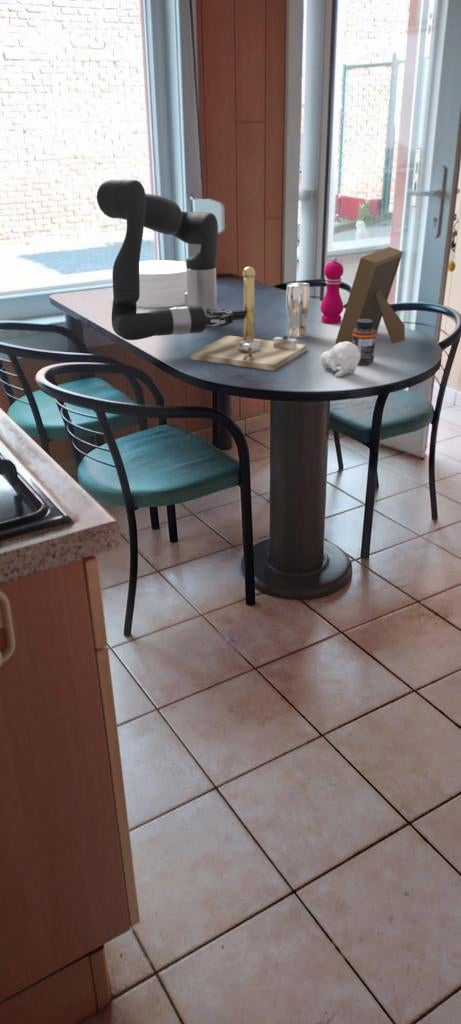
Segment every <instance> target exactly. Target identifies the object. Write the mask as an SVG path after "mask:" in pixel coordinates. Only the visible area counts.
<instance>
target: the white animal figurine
mask: <svg viewBox="0 0 461 1024" xmlns="http://www.w3.org/2000/svg"><path fill="white" fill-rule="evenodd" d="M360 356H361V354H360V352H359V350H358V347H357V346H356V345H355V344H353V343H351V342H348V341H345V342H339V343H338V344H335V345H333V347H331V349H330V350H326V351H324V352H323V353H321V355H320V357H319V358H320V359H319V360H320V365H321V366H322V367H323V369H330V368H331V370H332V371H334V372H335V371H337V367H341V370H338V371H337V372H336V373H334V377H336V378H340V377H343V376H344V375H346V374H347V372H348V374H349V375H353V374H355V371H356V370H357V366H359V365H358V363H359V359H360Z"/></svg>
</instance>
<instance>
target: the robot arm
mask: <svg viewBox="0 0 461 1024" xmlns="http://www.w3.org/2000/svg"><path fill="white" fill-rule="evenodd" d="M97 189H98V190H97V192H96V202H97V204H98V207H99V209H100V210H101V212H102V213H103V214H104V215H105V216H106V217H108V218H110V219H118V220H119V219H120V220H125V221H126V232H125V237H124V240H123V243H122V245H121V247H120V249H119V251H118V253H117V255H116V257H115V261H114V263H113V266H112V294H113V295H112V296H113V298H112V299H113V300H112V305H111V306H112V308H111V326H112V329H113V331H114V333H115V334H116V335H117V336H119V337H121V338H122V340H123V339H124V340H126V341H138V340H144V339H149V338H152V337H157V336H159V337H160V336H161V337H162V336H168V335H170V336H171V335H175V336H176V335H189V334H201V333H203V332H204V331H205V329H206V327H215V326H217V325H218V326H219V327H220V328H223V327H225V326H228V325H230V324H233V323H234V321H238V320H244V318H245V312H244V310H242V309H241V310H229V309H226V308H218V305H217V304H218V303H217V258H218V240H219V238H218V237H219V225H218V219H217V217H216V215H215V213H212V212H203V211H182V209H181V207H180V206H179V204H178V203H176V202H175V201H174V200H172V199H169V198H167V197H164V196H163V195H158V194H152V193H146V190H145V188H144V185H143V184H142V183H141V182H140V181H139V180H137V179H128V178H127V179H126V178H125V179H116V178H115V179H109V180H105V181H103V182H102V183H101V184H100V185H99V187H98V188H97ZM144 228H146V229H150V230H152V231H154V232H156V233H160V234H164V235H167V236H170V235H171V236H173V237H175V238H177V239H178V240H180V241H182V242H183V243H186V244H189V245H197V246H198V245H200V251H199V252H198V253H196V254H194V255H191V256H189V257H187V258H186V259H185V262H186V277H187V292H186V293H185V294H184V297H185V305H180V306H173V307H165V308H157V309H152V310H149V311H148V312H139V313H138V312H137V307H136V306H137V301H138V300H139V296H140V280H139V263H140V262H141V261H140V259H141V251H142V243H143V235H144Z"/></svg>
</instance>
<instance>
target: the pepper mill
mask: <svg viewBox="0 0 461 1024" xmlns="http://www.w3.org/2000/svg"><path fill="white" fill-rule="evenodd" d="M323 274H324V275H325V277H326V278H325V279H324V280H325V284H326V292H325V294H324V297H323V299H322V301H321V304H320V312H321V313H322V314H323V315H321V320H320V321H321V323H323V324H326V323H327V324H328V325H337V324H341V323H342V316H341V314H342V313H343V312H344V302H343V300H342V297H341V295H340V294H341V293H340V284H341V283H342V278H341V277H342V276H343V274H344V266H343V264H342V263H341V262H338V258H337V257H336V256H333V257H332V258H331V261H330V262H328V263H326V265H325V266H324V269H323Z"/></svg>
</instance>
